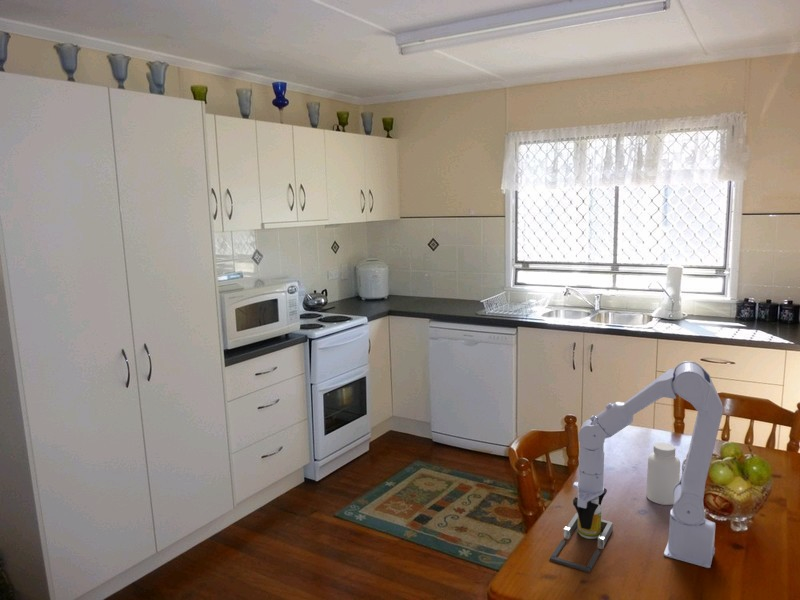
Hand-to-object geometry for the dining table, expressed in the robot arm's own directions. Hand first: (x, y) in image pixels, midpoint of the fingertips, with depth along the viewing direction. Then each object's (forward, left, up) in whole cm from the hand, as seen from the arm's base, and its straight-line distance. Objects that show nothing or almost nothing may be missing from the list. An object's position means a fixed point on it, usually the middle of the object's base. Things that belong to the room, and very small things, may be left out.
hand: (589, 522), depth 146 cm
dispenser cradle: (0, 0, -3) cm, 3 cm away
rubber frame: (0, +11, -3) cm, 11 cm away
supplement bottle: (0, 0, -3) cm, 3 cm away
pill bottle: (-12, -27, -3) cm, 30 cm away
